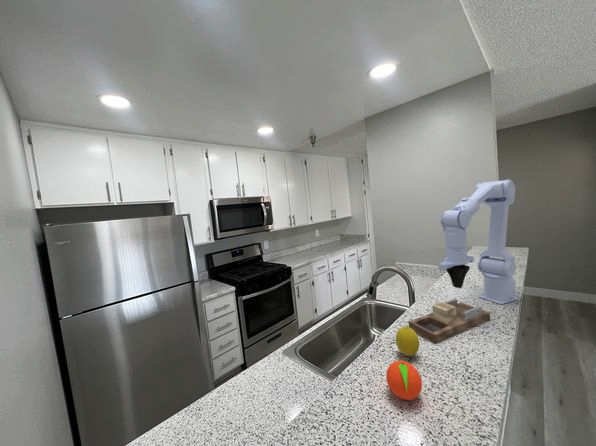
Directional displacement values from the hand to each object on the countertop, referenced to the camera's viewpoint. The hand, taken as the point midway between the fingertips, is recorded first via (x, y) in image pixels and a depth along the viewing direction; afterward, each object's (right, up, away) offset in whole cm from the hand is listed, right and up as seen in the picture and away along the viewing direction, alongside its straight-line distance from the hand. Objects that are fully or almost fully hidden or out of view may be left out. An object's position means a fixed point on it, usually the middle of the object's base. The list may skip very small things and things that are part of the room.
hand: (457, 287), depth 78 cm
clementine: (-30, -16, -28) cm, 44 cm away
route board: (-5, -11, -3) cm, 12 cm away
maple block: (-7, -9, -4) cm, 12 cm away
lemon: (-24, -14, -16) cm, 32 cm away
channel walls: (0, -8, -2) cm, 8 cm away
